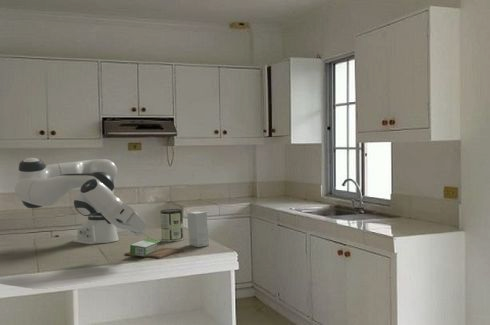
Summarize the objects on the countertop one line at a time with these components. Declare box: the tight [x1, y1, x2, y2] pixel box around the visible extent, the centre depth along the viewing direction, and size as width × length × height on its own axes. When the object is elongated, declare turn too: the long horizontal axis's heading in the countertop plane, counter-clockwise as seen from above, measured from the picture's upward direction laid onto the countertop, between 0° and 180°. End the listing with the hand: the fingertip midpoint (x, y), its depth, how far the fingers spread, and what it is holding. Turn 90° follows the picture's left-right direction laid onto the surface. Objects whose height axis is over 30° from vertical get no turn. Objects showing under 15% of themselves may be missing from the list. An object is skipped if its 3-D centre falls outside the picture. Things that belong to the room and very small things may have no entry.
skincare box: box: [187, 210, 210, 248], centre depth 233 cm, size 8×6×15 cm
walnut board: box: [124, 246, 184, 259], centre depth 219 cm, size 18×16×1 cm
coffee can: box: [159, 208, 184, 243], centre depth 250 cm, size 10×10×14 cm
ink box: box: [129, 237, 162, 257], centre depth 216 cm, size 7×4×13 cm
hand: (139, 234), depth 210 cm, fingers closed
